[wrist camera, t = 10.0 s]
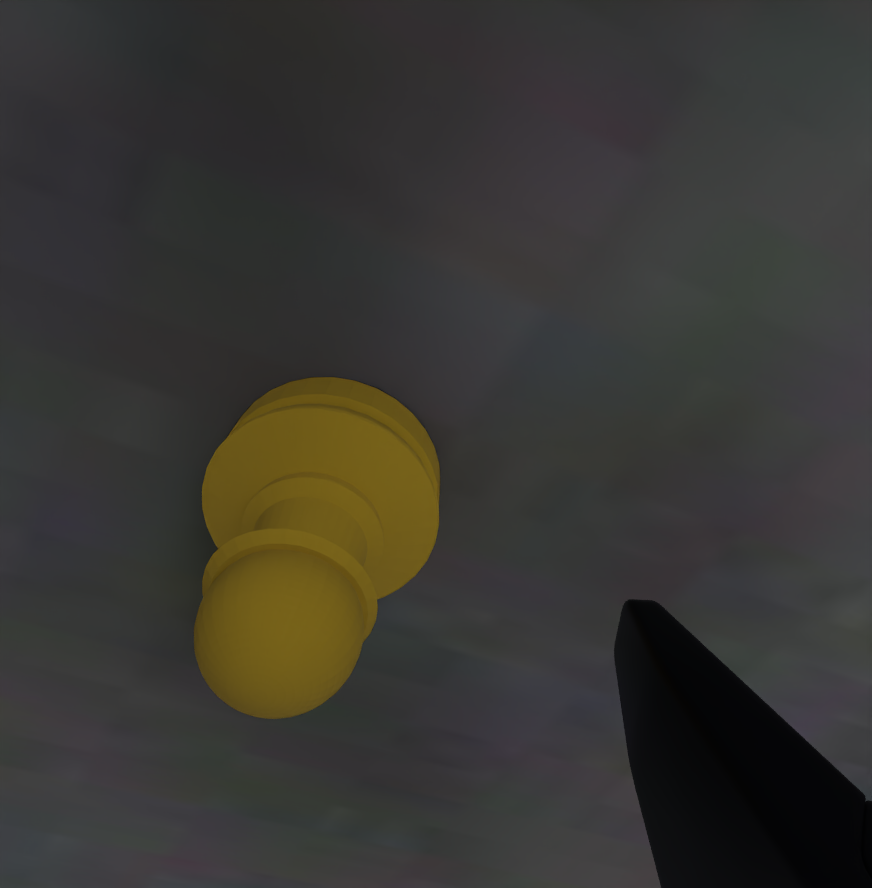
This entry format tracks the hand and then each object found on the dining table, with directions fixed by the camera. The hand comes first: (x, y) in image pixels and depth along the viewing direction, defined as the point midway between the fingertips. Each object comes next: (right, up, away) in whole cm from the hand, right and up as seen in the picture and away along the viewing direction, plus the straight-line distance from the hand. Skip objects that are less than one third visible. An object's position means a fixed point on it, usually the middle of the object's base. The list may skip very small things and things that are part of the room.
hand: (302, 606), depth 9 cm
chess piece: (0, +2, +3) cm, 4 cm away
